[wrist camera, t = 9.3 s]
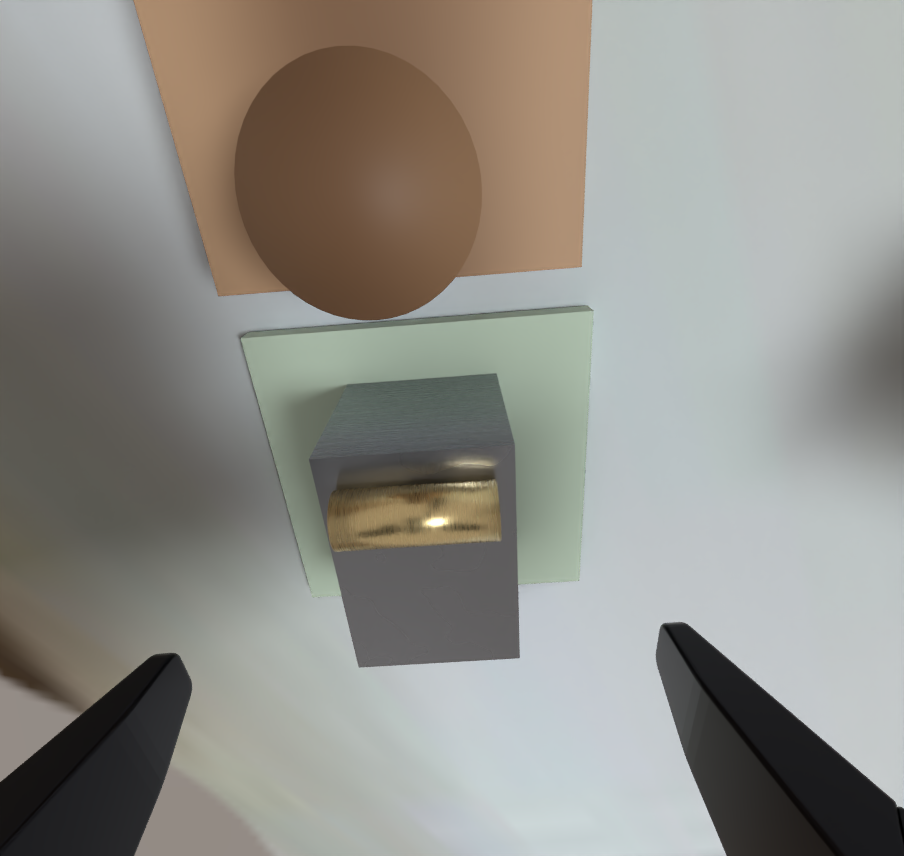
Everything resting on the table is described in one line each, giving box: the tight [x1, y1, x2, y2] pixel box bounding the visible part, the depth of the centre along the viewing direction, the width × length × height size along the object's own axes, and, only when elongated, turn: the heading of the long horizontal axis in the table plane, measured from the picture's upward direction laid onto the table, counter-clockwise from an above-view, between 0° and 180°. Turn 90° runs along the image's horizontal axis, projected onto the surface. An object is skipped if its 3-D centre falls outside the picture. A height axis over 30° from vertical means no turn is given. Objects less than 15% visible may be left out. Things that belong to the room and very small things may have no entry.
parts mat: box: [240, 306, 593, 597], centre depth 15 cm, size 9×9×1 cm
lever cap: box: [309, 373, 520, 667], centre depth 12 cm, size 4×6×5 cm, turn 4°
